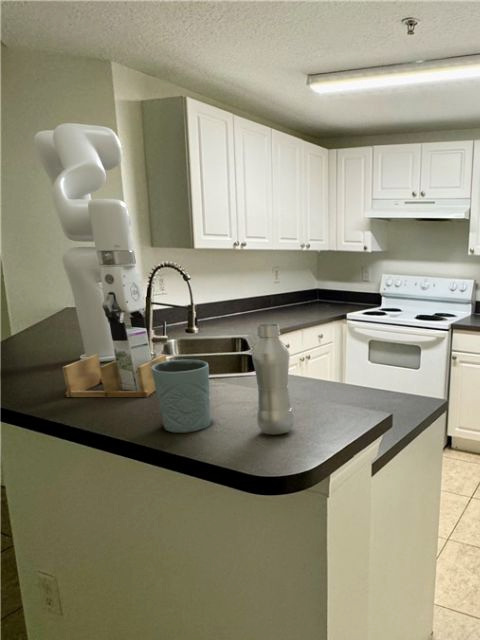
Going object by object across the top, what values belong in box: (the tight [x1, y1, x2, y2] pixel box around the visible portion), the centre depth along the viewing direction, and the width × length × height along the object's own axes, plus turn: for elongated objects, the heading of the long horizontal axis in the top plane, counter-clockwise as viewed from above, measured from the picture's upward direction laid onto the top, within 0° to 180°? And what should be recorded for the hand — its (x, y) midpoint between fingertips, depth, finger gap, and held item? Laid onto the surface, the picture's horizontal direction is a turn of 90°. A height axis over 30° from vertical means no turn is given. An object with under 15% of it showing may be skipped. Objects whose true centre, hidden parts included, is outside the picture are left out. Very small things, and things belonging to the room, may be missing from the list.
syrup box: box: [110, 326, 153, 391], centre depth 129 cm, size 6×6×14 cm
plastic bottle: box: [251, 323, 295, 435], centre depth 99 cm, size 6×7×20 cm
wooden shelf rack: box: [61, 353, 167, 398], centre depth 130 cm, size 14×18×7 cm
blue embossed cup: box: [151, 359, 212, 434], centre depth 104 cm, size 10×10×12 cm
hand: (130, 337), depth 126 cm, fingers open, 9 cm apart
